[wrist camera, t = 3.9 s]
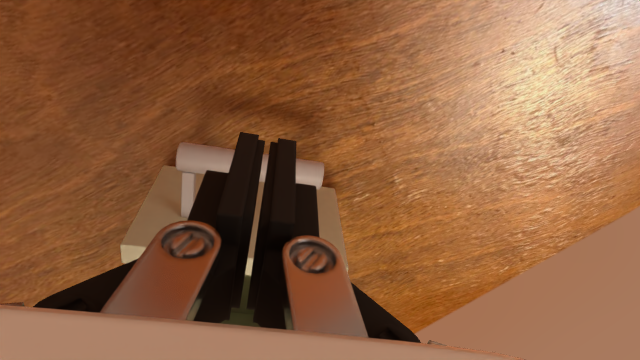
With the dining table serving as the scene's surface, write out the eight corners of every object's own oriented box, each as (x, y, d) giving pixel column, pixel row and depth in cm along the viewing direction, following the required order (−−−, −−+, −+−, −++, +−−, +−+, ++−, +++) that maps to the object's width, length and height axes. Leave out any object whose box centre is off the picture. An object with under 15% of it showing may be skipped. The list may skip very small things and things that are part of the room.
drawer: (162, 100, 22) (113, 166, 16) (350, 130, 24) (371, 201, 18) (163, 301, 31) (132, 394, 25) (301, 313, 32) (304, 403, 26)
